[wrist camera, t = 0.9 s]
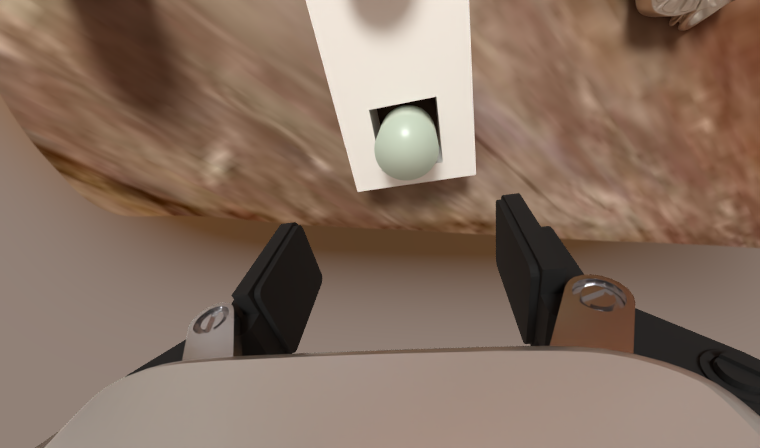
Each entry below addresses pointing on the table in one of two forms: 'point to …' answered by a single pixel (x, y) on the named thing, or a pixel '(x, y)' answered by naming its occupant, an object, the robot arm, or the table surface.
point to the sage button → (406, 143)
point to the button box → (398, 76)
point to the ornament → (680, 10)
